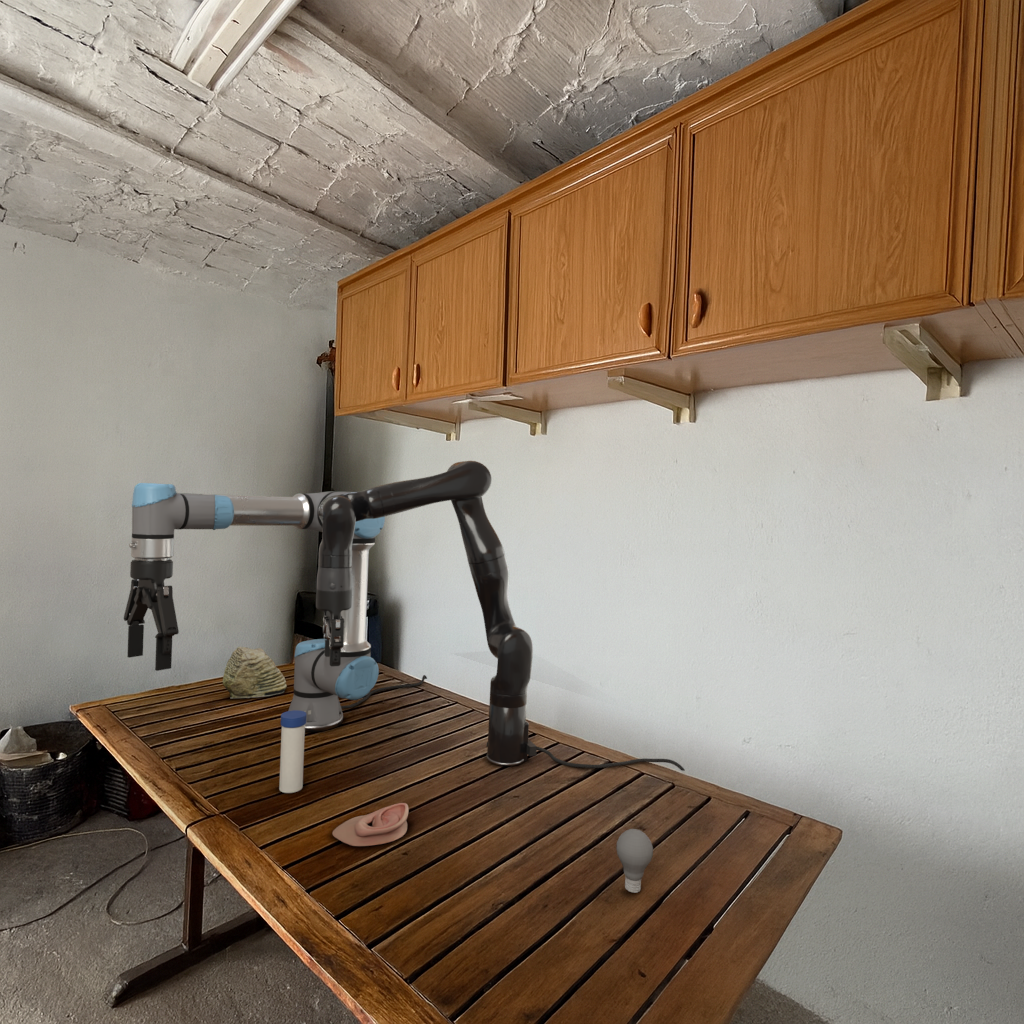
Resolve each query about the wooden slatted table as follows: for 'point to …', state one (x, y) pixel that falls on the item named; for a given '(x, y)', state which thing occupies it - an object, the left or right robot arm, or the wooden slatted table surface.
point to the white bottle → (292, 759)
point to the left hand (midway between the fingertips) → (148, 662)
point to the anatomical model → (374, 826)
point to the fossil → (252, 674)
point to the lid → (293, 719)
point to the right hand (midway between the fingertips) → (332, 660)
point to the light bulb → (634, 857)
